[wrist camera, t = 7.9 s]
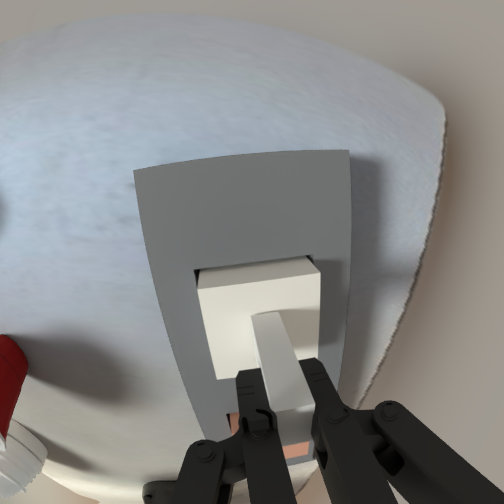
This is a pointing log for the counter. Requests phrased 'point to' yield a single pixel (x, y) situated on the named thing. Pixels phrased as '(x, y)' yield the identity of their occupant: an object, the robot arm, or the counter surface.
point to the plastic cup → (9, 382)
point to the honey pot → (20, 460)
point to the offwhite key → (258, 308)
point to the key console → (244, 251)
